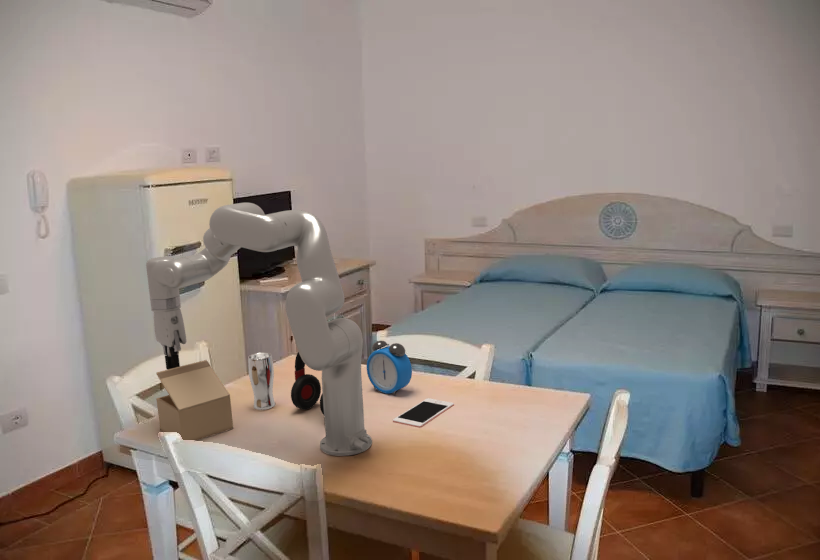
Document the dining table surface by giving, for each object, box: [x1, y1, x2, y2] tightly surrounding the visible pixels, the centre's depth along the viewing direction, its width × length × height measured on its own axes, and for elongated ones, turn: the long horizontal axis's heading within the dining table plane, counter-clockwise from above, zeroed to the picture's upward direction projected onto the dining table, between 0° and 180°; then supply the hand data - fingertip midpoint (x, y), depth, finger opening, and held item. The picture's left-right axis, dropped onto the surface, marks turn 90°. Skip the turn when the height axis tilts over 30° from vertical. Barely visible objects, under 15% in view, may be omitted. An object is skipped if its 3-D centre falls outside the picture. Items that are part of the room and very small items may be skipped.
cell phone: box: [392, 397, 455, 428], centre depth 188 cm, size 9×18×1 cm, turn 147°
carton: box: [155, 394, 234, 441], centre depth 183 cm, size 14×14×9 cm
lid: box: [156, 359, 231, 411], centre depth 181 cm, size 14×14×1 cm
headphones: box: [290, 352, 324, 416], centre depth 189 cm, size 18×10×20 cm, turn 48°
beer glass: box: [247, 352, 276, 411], centre depth 197 cm, size 7×7×15 cm
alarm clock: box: [366, 340, 413, 396], centre depth 204 cm, size 13×6×15 cm, turn 51°
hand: (173, 368), depth 189 cm, fingers closed
